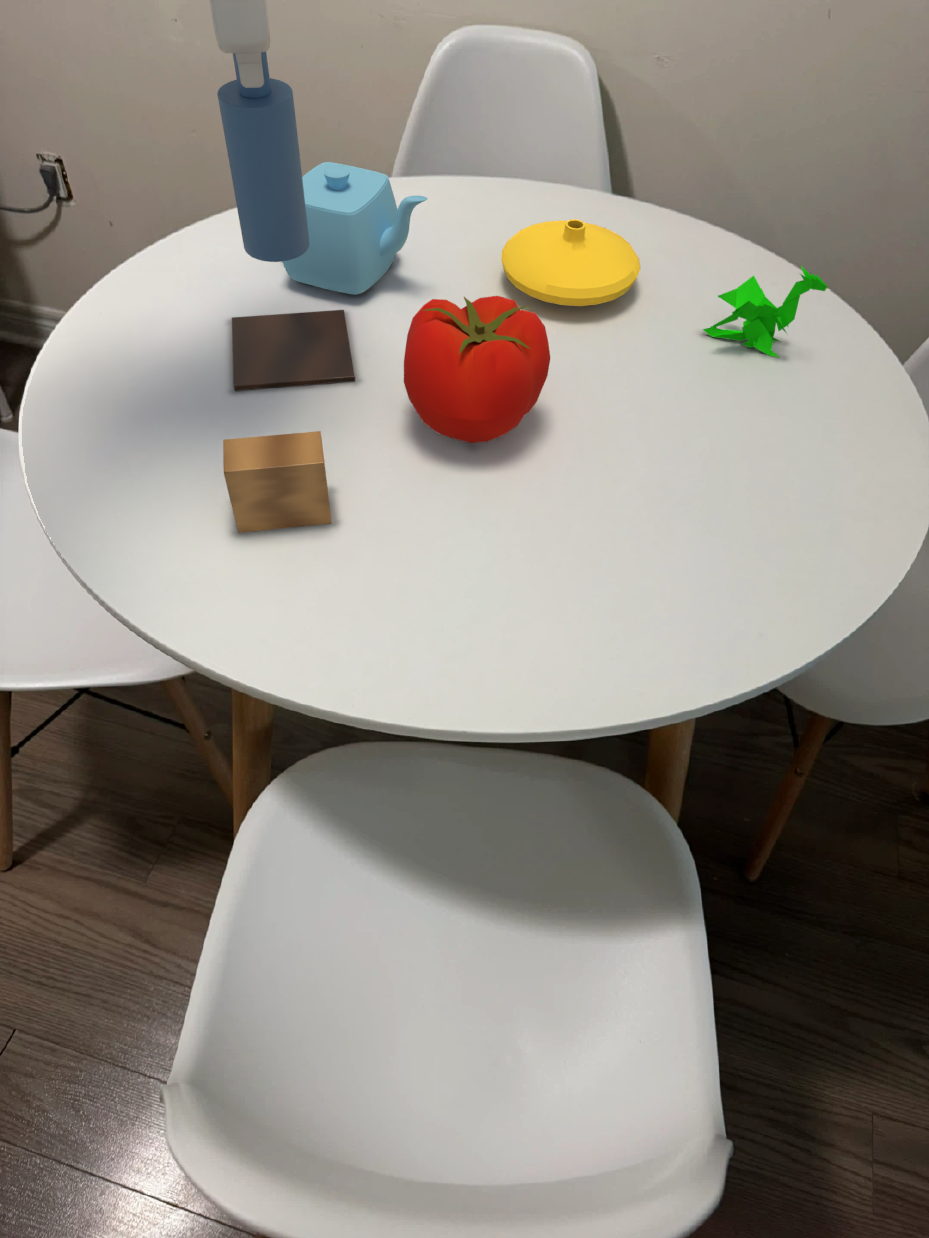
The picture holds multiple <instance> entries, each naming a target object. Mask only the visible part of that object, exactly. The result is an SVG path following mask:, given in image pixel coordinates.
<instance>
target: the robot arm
mask: <svg viewBox="0 0 929 1238" xmlns="http://www.w3.org/2000/svg"><path fill="white" fill-rule="evenodd" d="M209 5H210V13H211V18H212V24H213V29H214V30H213V31H214V35H215V40H216V43H217V46H218V48H219V50H220V51H221V52H222V53H223V54H233V53H235V56H236V59H237V63H238V69H239V75H240V81H241V84H242V86H244V87H245V88H260V87H262V86H263V85H264V76H263V68H262V59H261V52H266V53H267V52H268V50H269V49H270V46H271V31H270V30H271V29H270V23H269V22H270V21H269V12H268V2H267V0H209Z"/></svg>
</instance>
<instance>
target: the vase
mask: <svg viewBox="0 0 929 1238" xmlns="http://www.w3.org/2000/svg"><path fill="white" fill-rule="evenodd" d="M500 257H501V258H500V259H501V264H502V268H503V271H504V273H505V276H506V278H507V280H509V282H510V283H511V284H512V285H513V286H514V287H515V289H518V290H519V291H520V292H523V294H525V295H527V296H529V297H531V298H534V299H537V300H540V301H542V302H546V303H550V304H555V305H560V306H569V307H570V306H571V307H573V306H574V307H585V306H596V305H602V304H604V303H608V302H612V301H614V300H616V299H617V298H619V297H622V296H624V295H625V294H626V293H627V292H628V291H629V290H630V289H631V288H632V287H633V286H634V284H635V282H636V280H637V279H638V278H639V277H638V276H639V274H640V272H641V262H640V261H641V260H640V258H639V256H638V255H637V253H636V251H635V250H634V248H633V247H632V244H631V243H630V242H628V241H627V240H626V239H625V238H624V237H623V236H622V235H620V234H618V233H616V232H614V231H612V230H611V229H608V228H606V227H603V226H600V225H597V224H594V223H589V222H588V223H587V222H584V221H583V220H581V219H577V218H575V219H574V218H573V219H568V220H551V221H550V220H549V221H544V222H539V223H535V224H530V225H529V226H526V227H525V228H522V229H520V230H519V231H517V232H516V233H515V234H514V235H513V236H512V237H510V238H509V239H508V240H507V241H506V242H505V245H504V246H503V247H502V249H501V256H500Z"/></svg>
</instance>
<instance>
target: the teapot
mask: <svg viewBox="0 0 929 1238" xmlns="http://www.w3.org/2000/svg"><path fill="white" fill-rule="evenodd" d="M302 180H303V189H304V198H305V207H306V215H307V224H308V233H309V242H310V245H309V248H308V250H307V251H306V252H305V253H304V254H302V255H301V256H299V257H297V258H295V259H292V260H288V261H282V264H283V267H284V269H285V272H286V273H287V275H288V277H289V278H290V279H291V280H293V281H296V282H299V283H302V284H306V285H309V286H313V287H317V288H320V289H325V290H329V291H333V292H338V293H343V294H349V295H355V296H356V295H360V294H362V293H365V292H366V291H368V290H369V289H370V288H371V287H373V286H374V285H375V284H376V283H377V282H378V281H379V280H380V279H381V278H382V277H383V276H385V274H386V273H387V271H388V270H389V269H390V267H391V265H392V263H393V261H394V260H395V258H396V255H397V253H398V252H400V251H401V250H402V248H403V247H404V246H405V244H406V242H407V240H408V236H409V232H410V226H411V225H410V224H411V216H412V213H413V211H414V209H415V208H416V207H417V206H418V205H420V204H422V203H423V202H426V201H428V196H427V197H426V196H424V195H408V196H406V197H404V198H403V199H402V200H401V201H400V203H399V205H397V202H396V197H395V195H394V192H393V191H394V190H393V188H392V184H391V181H390V178H389V176H388V175H387V174H386V173H382V172H380V171H379V172H378V171H375V170H371V169H368V168H362V167H358V166H354V165H349V164H343V163H338V162H331V161H325V162H322V163H319V164H318V165H316V166H314V167H313V168H311V169H310V170H309V171H307V172H306V173H305V174H304V175H302Z"/></svg>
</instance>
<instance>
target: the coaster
mask: <svg viewBox="0 0 929 1238" xmlns="http://www.w3.org/2000/svg"><path fill="white" fill-rule="evenodd" d="M231 338H232V339H231V340H232V341H231V342H232V377H233V379H232V380H233V381H232V382H233V390H234V392H238V391H249V390H263V389H277V388H287V387H288V388H289V387H300V386H311V385H312V386H313V385H323V384H324V385H326V384H337V383H348V382H349V383H351V382H355V381H356V375H355V370H354V369H355V368H354V362H353V357H352V352H351V345H350V338H349V332H348V326H347V321H346V314H345V309H333V310H322V311H321V310H320V311H319V310H318V311H305V312H290V313H278V314H276V313H275V314H263V315H248V316H234V317H231Z"/></svg>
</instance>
